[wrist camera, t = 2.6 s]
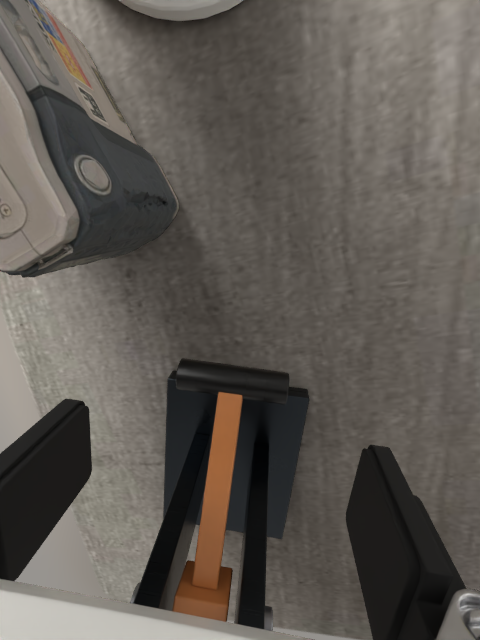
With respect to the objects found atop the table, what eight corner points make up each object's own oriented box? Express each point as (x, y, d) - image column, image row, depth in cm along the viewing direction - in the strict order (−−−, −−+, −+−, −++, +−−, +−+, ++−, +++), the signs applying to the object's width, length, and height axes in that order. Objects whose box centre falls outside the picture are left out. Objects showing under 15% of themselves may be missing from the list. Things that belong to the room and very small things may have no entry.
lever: (187, 358, 16) (175, 358, 14) (286, 371, 16) (291, 374, 14) (148, 617, 15) (128, 666, 13) (254, 638, 15) (254, 692, 12)
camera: (194, 221, 19) (111, 230, 9) (113, 264, 20) (-35, 310, 10) (84, 1, 16) (-197, -313, 6) (-1, 67, 17) (-342, -113, 8)
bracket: (172, 369, 22) (64, 534, 11) (307, 388, 21) (343, 584, 10) (167, 505, 26) (84, 731, 14) (281, 525, 25) (287, 776, 14)
